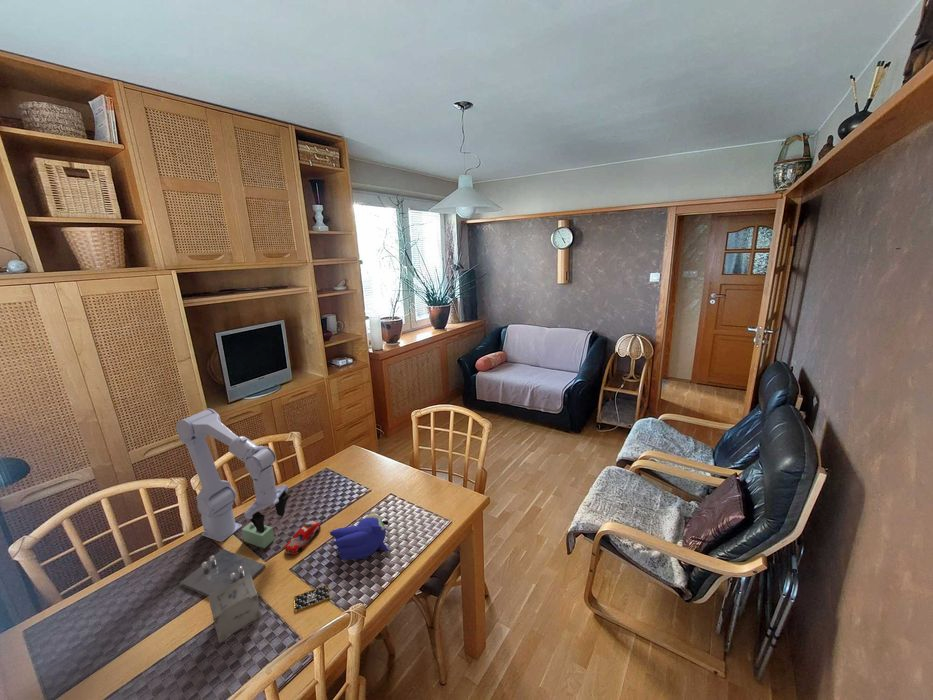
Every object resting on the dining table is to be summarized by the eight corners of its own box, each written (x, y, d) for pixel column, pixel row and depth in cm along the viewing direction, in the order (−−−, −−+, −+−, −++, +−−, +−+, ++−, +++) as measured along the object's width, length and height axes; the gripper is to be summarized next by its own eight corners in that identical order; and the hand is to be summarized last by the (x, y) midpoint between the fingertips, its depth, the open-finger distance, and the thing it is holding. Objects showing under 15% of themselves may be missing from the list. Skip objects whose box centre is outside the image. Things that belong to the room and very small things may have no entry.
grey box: (219, 648, 90) (211, 615, 87) (214, 623, 96) (206, 591, 93) (264, 622, 96) (257, 590, 93) (256, 600, 102) (250, 570, 99)
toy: (374, 520, 131) (401, 540, 121) (332, 554, 120) (357, 579, 110) (367, 497, 127) (394, 516, 117) (323, 531, 116) (348, 554, 106)
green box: (244, 541, 123) (241, 527, 121) (254, 533, 126) (251, 519, 125) (264, 548, 120) (261, 534, 118) (274, 539, 123) (272, 525, 122)
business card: (294, 610, 98) (293, 596, 102) (294, 614, 98) (294, 599, 102) (329, 597, 102) (328, 583, 106) (330, 600, 102) (328, 586, 106)
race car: (295, 558, 116) (293, 548, 115) (281, 553, 118) (279, 543, 117) (324, 529, 128) (322, 519, 127) (311, 525, 130) (310, 516, 129)
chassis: (181, 585, 107) (178, 574, 105) (223, 551, 118) (220, 541, 117) (225, 604, 101) (223, 593, 100) (265, 567, 112) (263, 556, 111)
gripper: (254, 504, 106) (261, 542, 109) (293, 475, 119) (298, 511, 122) (236, 498, 108) (243, 536, 112) (276, 471, 121) (281, 506, 125)
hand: (271, 523), depth 117 cm, fingers open, 7 cm apart
